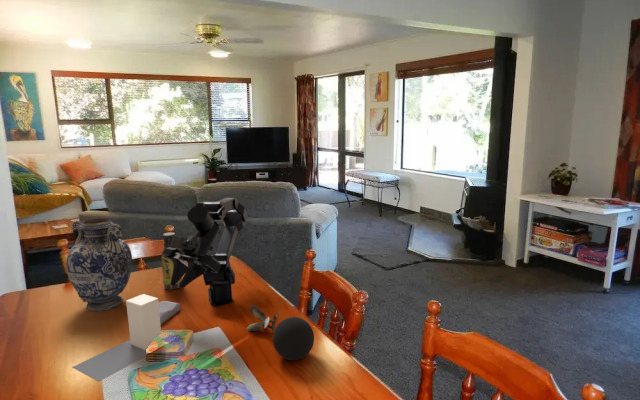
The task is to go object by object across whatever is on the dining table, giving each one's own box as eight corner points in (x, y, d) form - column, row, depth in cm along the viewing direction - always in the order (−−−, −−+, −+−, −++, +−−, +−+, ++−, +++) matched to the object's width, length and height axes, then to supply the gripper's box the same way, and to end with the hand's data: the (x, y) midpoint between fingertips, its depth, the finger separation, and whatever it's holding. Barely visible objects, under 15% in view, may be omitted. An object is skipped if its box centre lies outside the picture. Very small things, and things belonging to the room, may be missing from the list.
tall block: (148, 335, 111) (144, 293, 109) (162, 341, 108) (158, 298, 106) (130, 344, 107) (126, 300, 105) (145, 350, 104) (140, 305, 102)
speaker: (318, 348, 105) (317, 311, 103) (308, 371, 95) (307, 330, 93) (281, 344, 107) (279, 308, 105) (267, 366, 97) (266, 326, 95)
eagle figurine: (280, 319, 119) (251, 311, 120) (279, 306, 114) (248, 298, 115) (271, 343, 113) (241, 335, 115) (269, 330, 108) (238, 322, 110)
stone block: (131, 333, 119) (161, 329, 117) (127, 317, 118) (157, 313, 116) (155, 316, 130) (183, 312, 128) (152, 301, 130) (180, 297, 128)
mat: (153, 330, 116) (153, 328, 115) (179, 340, 110) (179, 338, 110) (72, 370, 97) (72, 367, 97) (99, 384, 91) (98, 381, 91)
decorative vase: (54, 310, 130) (44, 224, 125) (104, 290, 147) (97, 213, 142) (104, 321, 122) (95, 229, 117) (151, 298, 139) (144, 217, 134)
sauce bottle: (161, 286, 148) (156, 233, 145) (179, 282, 152) (174, 230, 149) (167, 292, 143) (162, 236, 140) (185, 287, 147) (180, 233, 144)
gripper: (165, 220, 121) (135, 267, 114) (210, 227, 111) (180, 279, 104) (188, 240, 129) (161, 285, 121) (232, 248, 119) (206, 297, 112)
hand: (176, 286), depth 114 cm, fingers open, 3 cm apart
